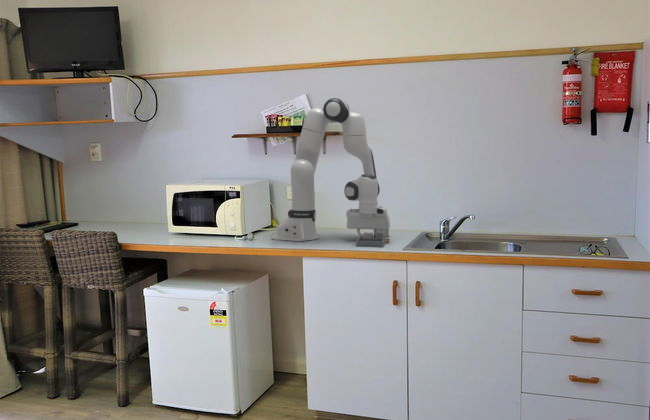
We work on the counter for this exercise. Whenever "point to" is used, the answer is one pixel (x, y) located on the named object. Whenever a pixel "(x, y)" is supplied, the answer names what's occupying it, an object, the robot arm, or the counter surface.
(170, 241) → the counter surface
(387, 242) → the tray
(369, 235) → the stone
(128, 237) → the counter surface
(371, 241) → the bin
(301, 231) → the robot arm
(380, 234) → the stone
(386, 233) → the can
